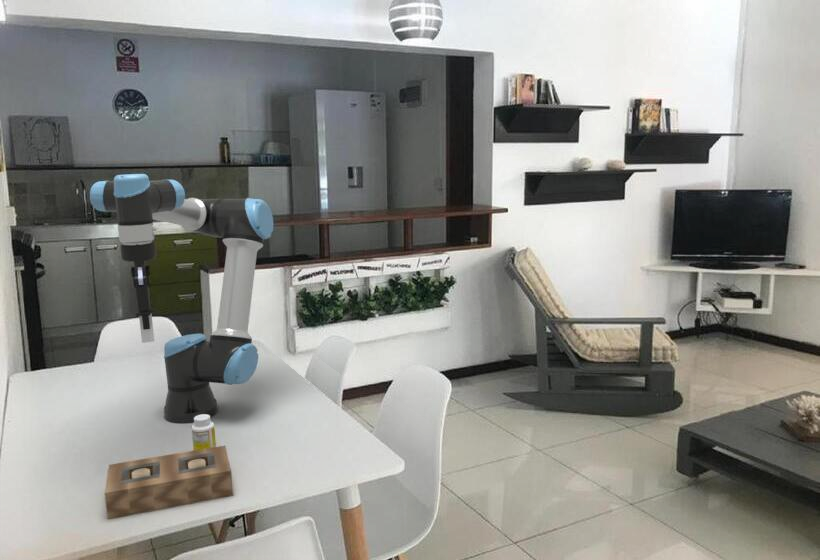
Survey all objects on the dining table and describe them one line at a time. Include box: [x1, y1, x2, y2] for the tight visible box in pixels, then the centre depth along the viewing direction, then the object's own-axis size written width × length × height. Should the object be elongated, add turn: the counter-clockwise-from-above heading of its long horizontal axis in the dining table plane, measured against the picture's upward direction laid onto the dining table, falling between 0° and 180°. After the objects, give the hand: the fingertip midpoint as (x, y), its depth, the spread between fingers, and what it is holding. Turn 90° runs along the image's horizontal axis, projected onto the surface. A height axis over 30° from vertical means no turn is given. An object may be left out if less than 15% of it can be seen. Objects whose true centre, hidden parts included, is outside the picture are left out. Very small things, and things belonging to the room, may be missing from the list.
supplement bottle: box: [191, 414, 217, 451], centre depth 174 cm, size 6×6×10 cm
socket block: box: [104, 445, 234, 520], centre depth 156 cm, size 26×14×6 cm, turn 110°
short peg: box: [188, 459, 206, 469], centre depth 158 cm, size 4×4×6 cm
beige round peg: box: [132, 468, 150, 479], centre depth 154 cm, size 4×4×6 cm
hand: (148, 341), depth 161 cm, fingers closed
